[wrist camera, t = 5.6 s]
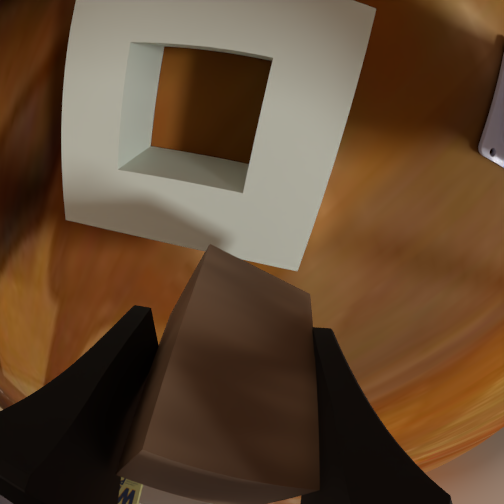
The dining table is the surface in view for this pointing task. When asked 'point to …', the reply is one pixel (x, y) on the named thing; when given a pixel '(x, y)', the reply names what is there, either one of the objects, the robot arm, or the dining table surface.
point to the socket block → (201, 166)
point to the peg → (230, 392)
